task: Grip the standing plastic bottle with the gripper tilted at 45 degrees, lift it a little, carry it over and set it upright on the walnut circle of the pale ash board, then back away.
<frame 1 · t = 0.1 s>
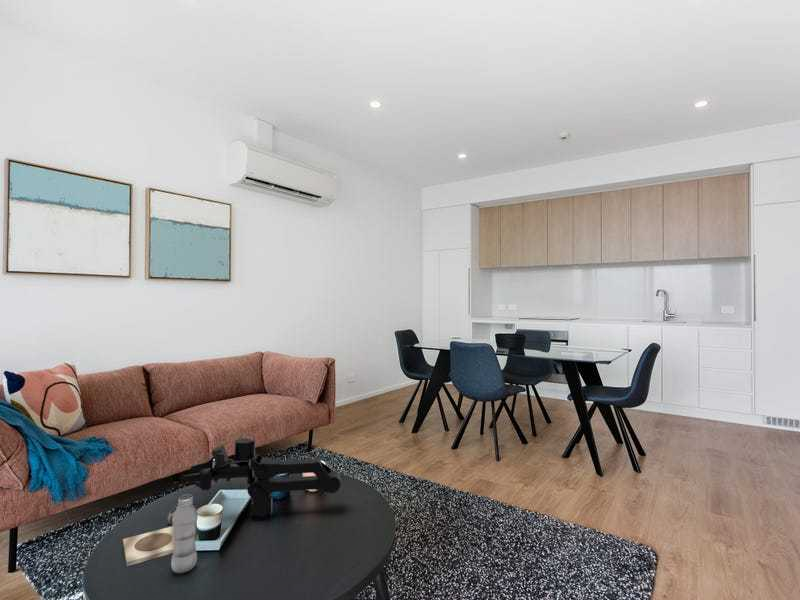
hand: (187, 472, 146), 17 cm above the table, tool horizontal, fingers open, 9 cm apart
ash board: (153, 546, 130), on the table
wristwatch: (177, 522, 145), on the table
plastic bottle: (183, 570, 118), on the table
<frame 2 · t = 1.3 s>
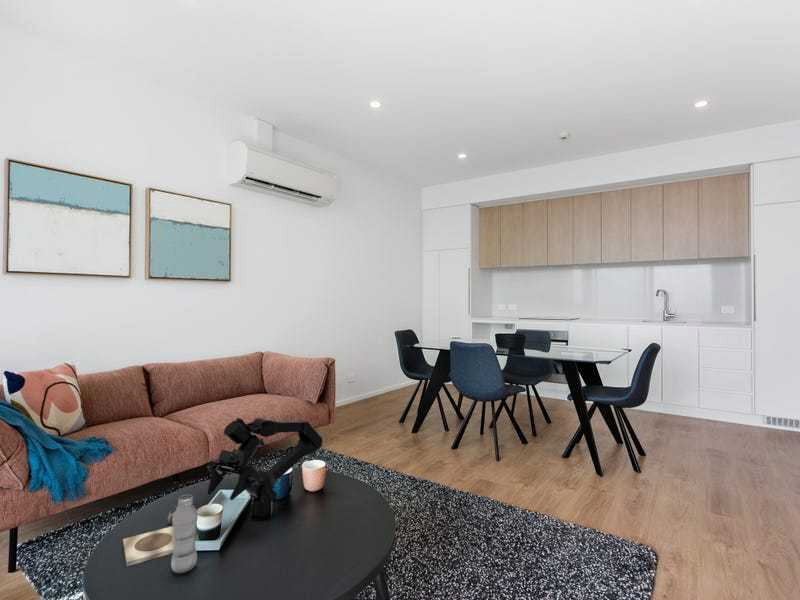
hand: (219, 497, 133), 14 cm above the table, tool tilted 45°, fingers open, 9 cm apart
nothing on the table moved.
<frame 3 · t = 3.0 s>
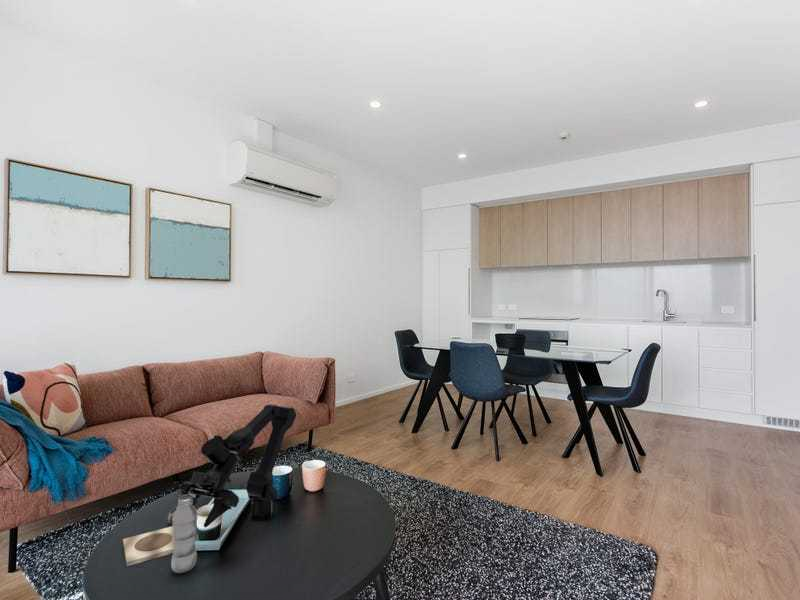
hand: (192, 523, 121), 11 cm above the table, tool tilted 45°, fingers open, 9 cm apart
nothing on the table moved.
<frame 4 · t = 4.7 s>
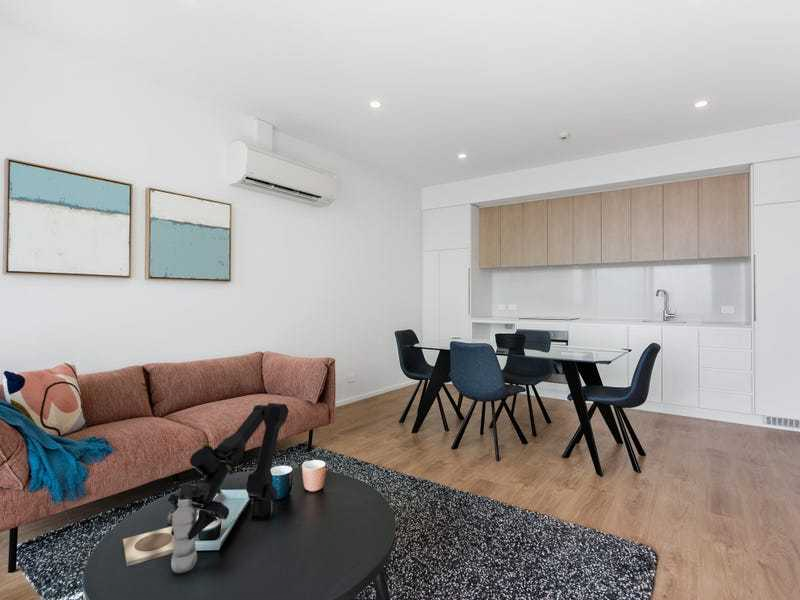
hand: (180, 537, 117), 10 cm above the table, tool tilted 45°, fingers closed on plastic bottle, 6 cm apart
plastic bottle: (183, 570, 118), on the table, touching gripper
everything else where it was.
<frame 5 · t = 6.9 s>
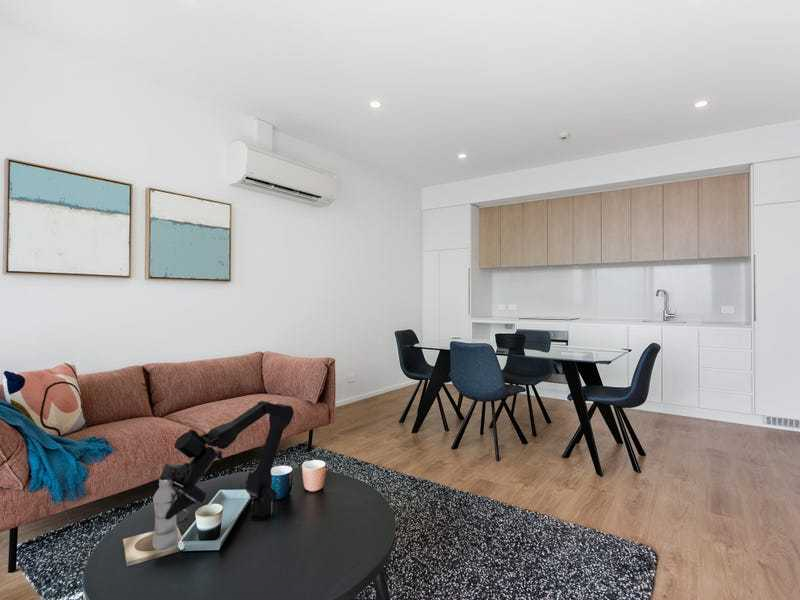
hand: (161, 515, 122), 13 cm above the table, tool tilted 45°, fingers closed on plastic bottle, 6 cm apart
plastic bottle: (165, 547, 123), point 3 cm above the table, touching gripper
everything else where it was.
when the fingers open (12 cm above the table, at t = 9.0 s): plastic bottle stays where it is, resting on ash board.
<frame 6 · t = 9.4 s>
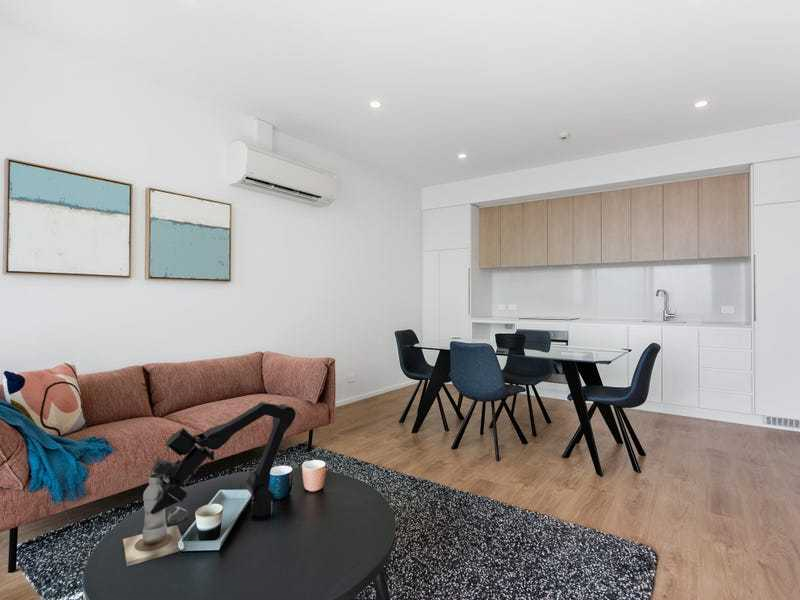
hand: (149, 507, 129), 12 cm above the table, tool tilted 45°, fingers open, 9 cm apart
plastic bottle: (154, 541, 130), point 1 cm above the table, touching ash board
everything else where it was.
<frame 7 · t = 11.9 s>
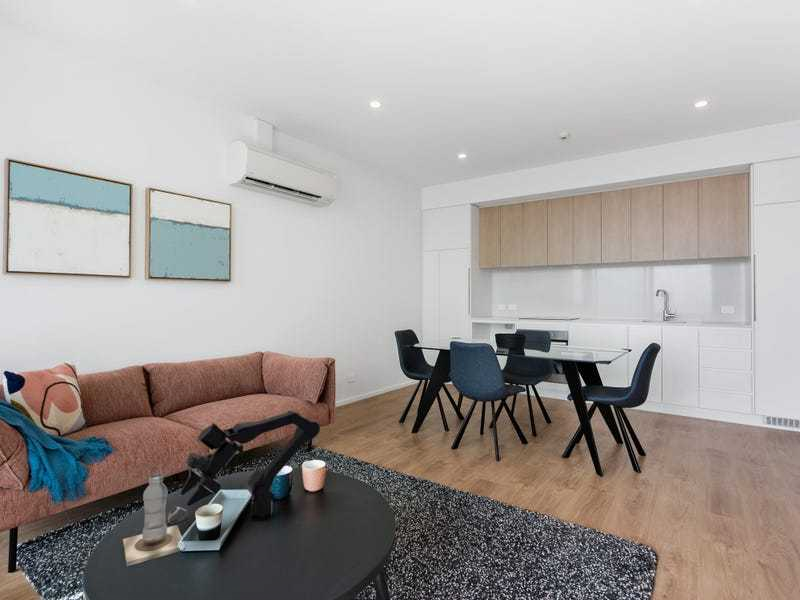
hand: (184, 499, 135), 12 cm above the table, tool tilted 45°, fingers open, 9 cm apart
nothing on the table moved.
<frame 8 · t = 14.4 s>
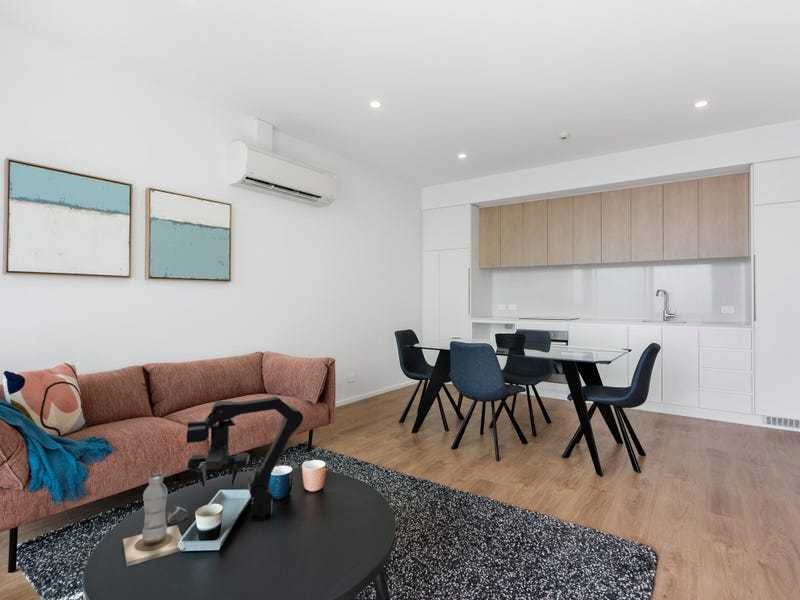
hand: (218, 485, 144), 13 cm above the table, tool pointing down, fingers open, 9 cm apart
nothing on the table moved.
at the end: plastic bottle inside the target area on the ash board (0.1 cm from its centre), point 1.2 cm above the ash board's base; plastic bottle tilted 0°; the gripper is holding nothing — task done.
